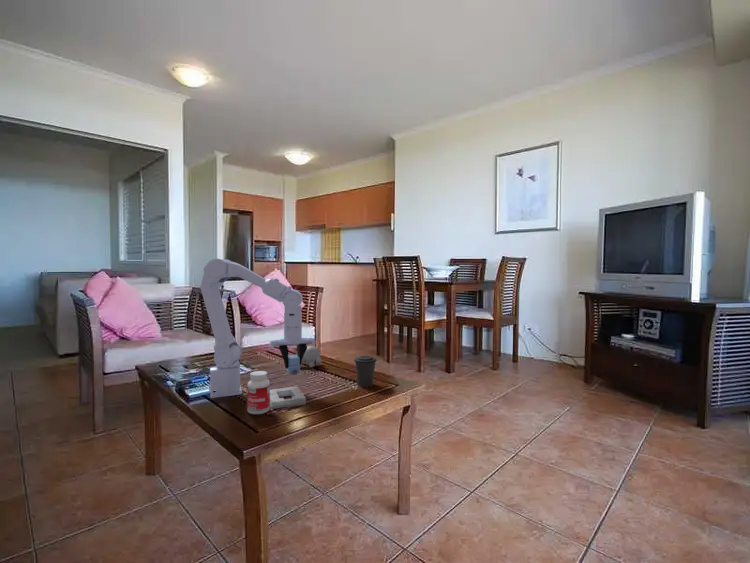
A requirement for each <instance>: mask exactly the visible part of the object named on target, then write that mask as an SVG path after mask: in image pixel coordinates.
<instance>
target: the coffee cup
mask: <svg viewBox="0 0 750 563" xmlns="http://www.w3.org/2000/svg"><path fill="white" fill-rule="evenodd" d="M353 360H354V361H353V362H354V363H355V369H356V370H355V372H356V381H357V382H356V383H357V386H358V387H359V388H368V387H367V386H371V387H373V385H374V377H375V368H376V362H377V358H376V357H374V356H373V357H372V356H371V355H369V356H368V355H363V356H362V355H361V356H357V357H355V358H354V359H353Z"/></svg>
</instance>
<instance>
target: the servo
mask: <svg viewBox="0 0 750 563" xmlns="http://www.w3.org/2000/svg"><path fill="white" fill-rule="evenodd" d="M301 366H302V365H301ZM301 366H300V358H299V357H298V356H297V355H296V354H291V355H289V354H288V369H286V368H285V371H286V372H287V373H288V375H292V376H295V375H298V374H300V373H301V372H300V368H301Z"/></svg>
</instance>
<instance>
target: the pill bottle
mask: <svg viewBox="0 0 750 563" xmlns="http://www.w3.org/2000/svg"><path fill="white" fill-rule="evenodd" d="M249 378H250V380H249V381H248V382H247V402H246V404H247V405H246V406H247V409H246V410H247V412H248V413H249V414H251V415H262V414H265V413H267V412H269V411H270V408H271V406H270V390H271V388H270V387H271V382H270V380H269V379H267V378H268V372H267V371H265V370H257V371H252V372H250V373H249Z"/></svg>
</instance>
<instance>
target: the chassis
mask: <svg viewBox="0 0 750 563" xmlns="http://www.w3.org/2000/svg"><path fill="white" fill-rule="evenodd" d="M284 397H291V398H287V399H285V398H284ZM306 401H307V398H306V396H305V395H304V393H303V392H302V391H301V389H300V388H299V387H298V385H297V386H289V387H281V388H273V389H271V388H270V408H271V410H276V409H282V408H289V407H296V406H301V405H302V406H305V405H307V402H306Z"/></svg>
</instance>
